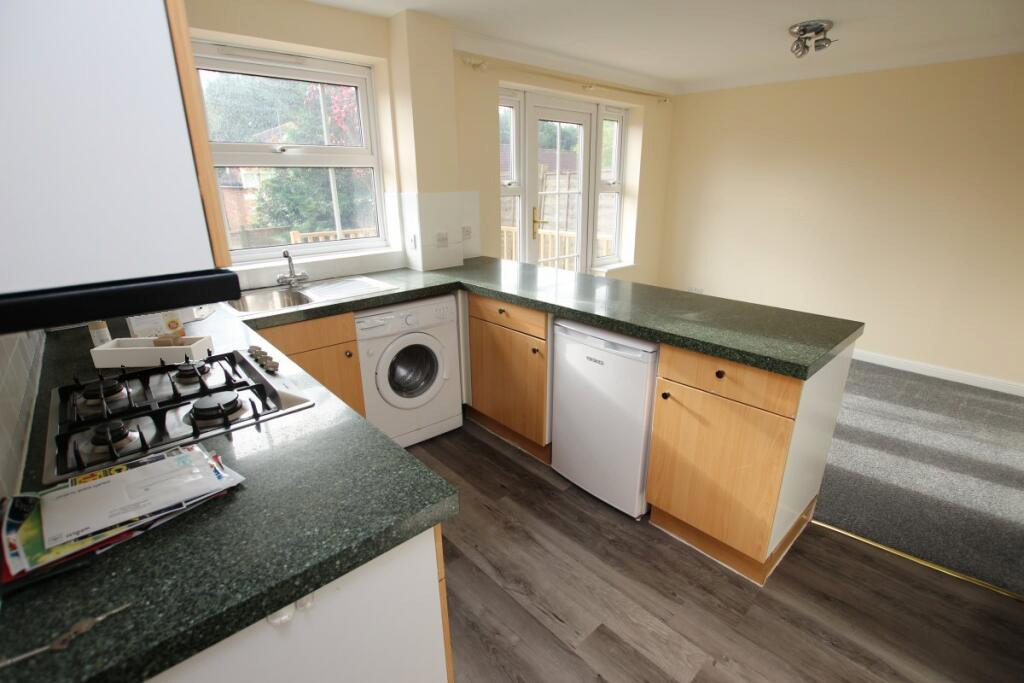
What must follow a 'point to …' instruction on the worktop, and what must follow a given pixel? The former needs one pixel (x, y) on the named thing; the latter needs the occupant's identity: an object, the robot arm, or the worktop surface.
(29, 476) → the worktop surface
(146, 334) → the cracker box
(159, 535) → the worktop surface
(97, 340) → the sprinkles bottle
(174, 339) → the walnut block
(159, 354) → the channel
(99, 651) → the worktop surface
